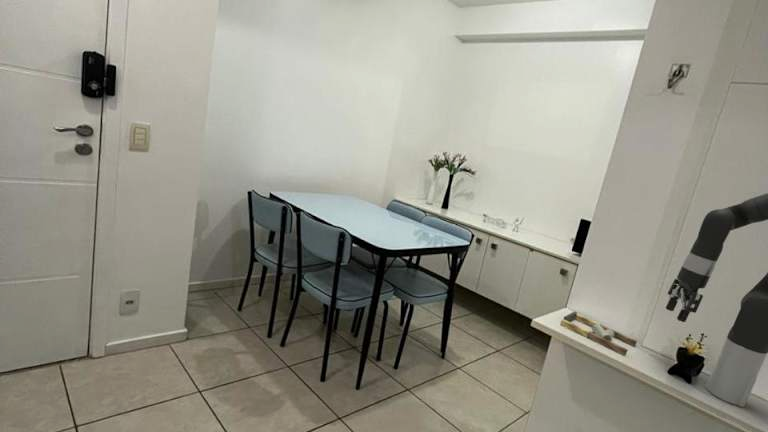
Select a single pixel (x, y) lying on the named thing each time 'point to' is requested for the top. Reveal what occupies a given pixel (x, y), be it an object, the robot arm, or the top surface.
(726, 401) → the robot arm
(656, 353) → the top surface
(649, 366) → the top surface
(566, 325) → the rail
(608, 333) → the pipe fitting
